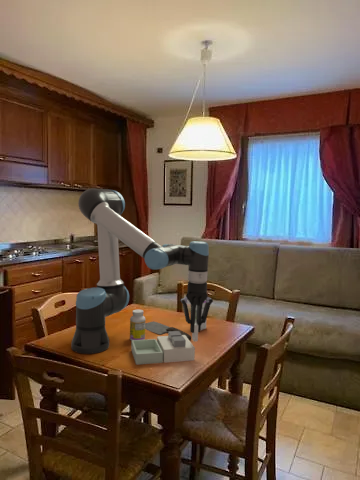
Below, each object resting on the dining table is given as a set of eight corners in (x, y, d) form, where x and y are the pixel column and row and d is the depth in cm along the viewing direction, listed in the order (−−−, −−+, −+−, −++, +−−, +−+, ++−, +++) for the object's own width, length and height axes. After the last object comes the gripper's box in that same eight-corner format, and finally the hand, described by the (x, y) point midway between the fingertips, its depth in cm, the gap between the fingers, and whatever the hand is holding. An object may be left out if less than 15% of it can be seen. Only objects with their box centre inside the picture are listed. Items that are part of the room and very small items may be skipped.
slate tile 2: (170, 341, 148) (170, 335, 148) (168, 337, 153) (168, 331, 152) (181, 340, 149) (181, 334, 149) (178, 336, 154) (178, 330, 153)
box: (136, 364, 137) (136, 354, 137) (131, 349, 151) (131, 340, 151) (162, 362, 140) (162, 352, 140) (155, 348, 153) (155, 338, 153)
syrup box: (206, 328, 180) (208, 299, 179) (198, 331, 176) (200, 301, 174) (197, 325, 184) (199, 296, 183) (189, 328, 180) (190, 298, 178)
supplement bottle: (129, 337, 165) (129, 308, 164) (144, 336, 166) (144, 308, 165) (130, 342, 159) (130, 313, 157) (145, 342, 160) (146, 312, 159)
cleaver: (195, 339, 166) (195, 334, 166) (179, 344, 159) (179, 339, 159) (152, 323, 187) (152, 318, 187) (137, 327, 180) (137, 322, 180)
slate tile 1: (174, 347, 142) (174, 340, 142) (171, 342, 147) (171, 336, 146) (185, 346, 144) (185, 340, 143) (182, 342, 148) (182, 336, 148)
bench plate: (163, 362, 140) (164, 349, 140) (156, 348, 154) (157, 336, 153) (194, 360, 143) (194, 347, 143) (184, 346, 157) (185, 334, 156)
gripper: (183, 283, 139) (181, 344, 142) (216, 283, 143) (213, 342, 145) (178, 279, 146) (176, 337, 149) (210, 279, 150) (207, 335, 152)
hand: (194, 340), depth 147 cm, fingers closed
